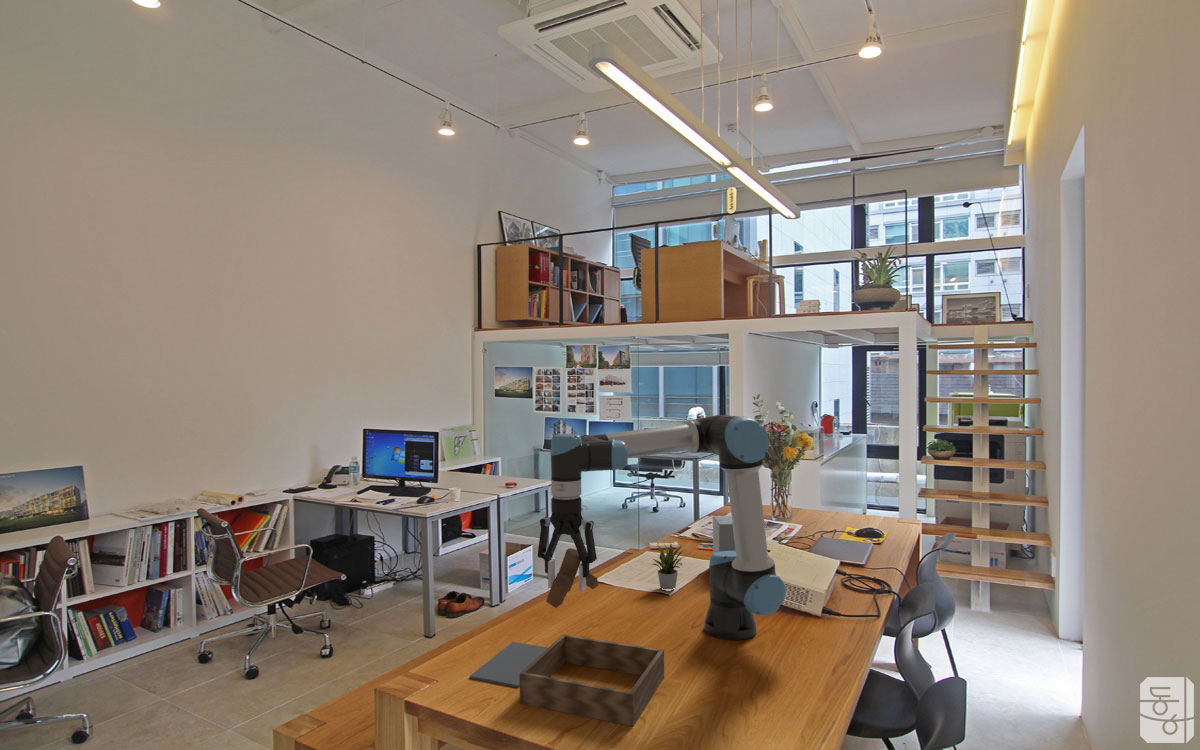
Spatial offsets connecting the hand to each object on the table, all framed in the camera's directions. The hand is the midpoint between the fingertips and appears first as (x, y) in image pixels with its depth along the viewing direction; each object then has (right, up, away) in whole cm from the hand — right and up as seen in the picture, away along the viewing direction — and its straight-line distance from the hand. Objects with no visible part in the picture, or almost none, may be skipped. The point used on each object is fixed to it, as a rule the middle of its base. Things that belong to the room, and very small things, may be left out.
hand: (567, 587), depth 162 cm
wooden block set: (0, -1, -1) cm, 2 cm away
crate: (+7, -23, -4) cm, 25 cm away
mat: (-14, -24, +10) cm, 29 cm away
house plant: (+34, -23, +68) cm, 79 cm away
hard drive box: (+56, -22, +87) cm, 106 cm away
